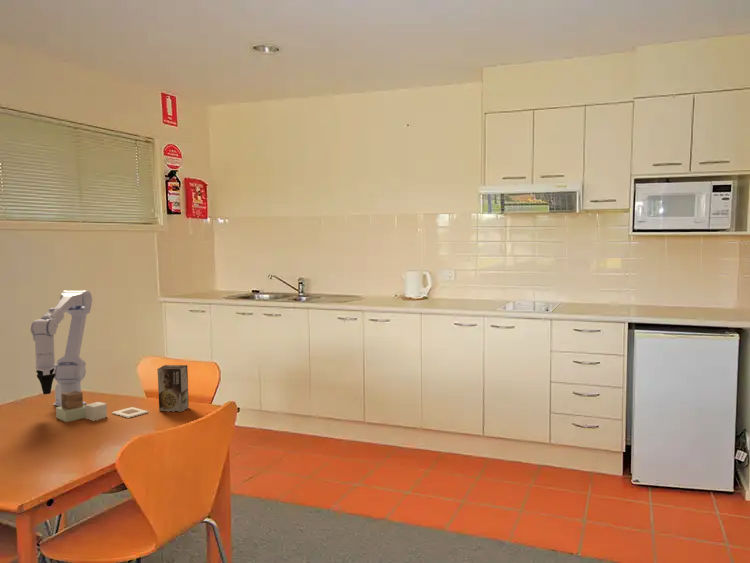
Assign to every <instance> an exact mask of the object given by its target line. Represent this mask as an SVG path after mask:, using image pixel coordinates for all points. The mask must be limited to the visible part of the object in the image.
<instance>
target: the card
mask: <svg viewBox="0 0 750 563" xmlns="http://www.w3.org/2000/svg"><path fill="white" fill-rule="evenodd" d="M112 413H113V414H112ZM145 413H146V414H149V410H145V409H142V408H138V407H133V406H131V407H127V408H123V409H118V410H115V411H111V414H112V415H115V414H116V416H118V415H120V416H119V417H122V416H123V417H122V418H125V417H126V419H131V417H132V418H135V416H136V417H138V415H139V416H143V415H146V414H145ZM142 414H143V415H142Z"/></svg>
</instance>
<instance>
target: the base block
mask: <svg viewBox="0 0 750 563" xmlns="http://www.w3.org/2000/svg"><path fill="white" fill-rule="evenodd" d="M85 405H86V404H83V407H79V408H74V409H70V410H68V409H65V408H62V406H61V407H60V406H56V407H55V414H56V417H55V418H56V419H59V420H61V421H62V422H65V423H68V422H69V423H70V422H73V421H77V419H78V420H81V418H82V419H86V414H85Z"/></svg>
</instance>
